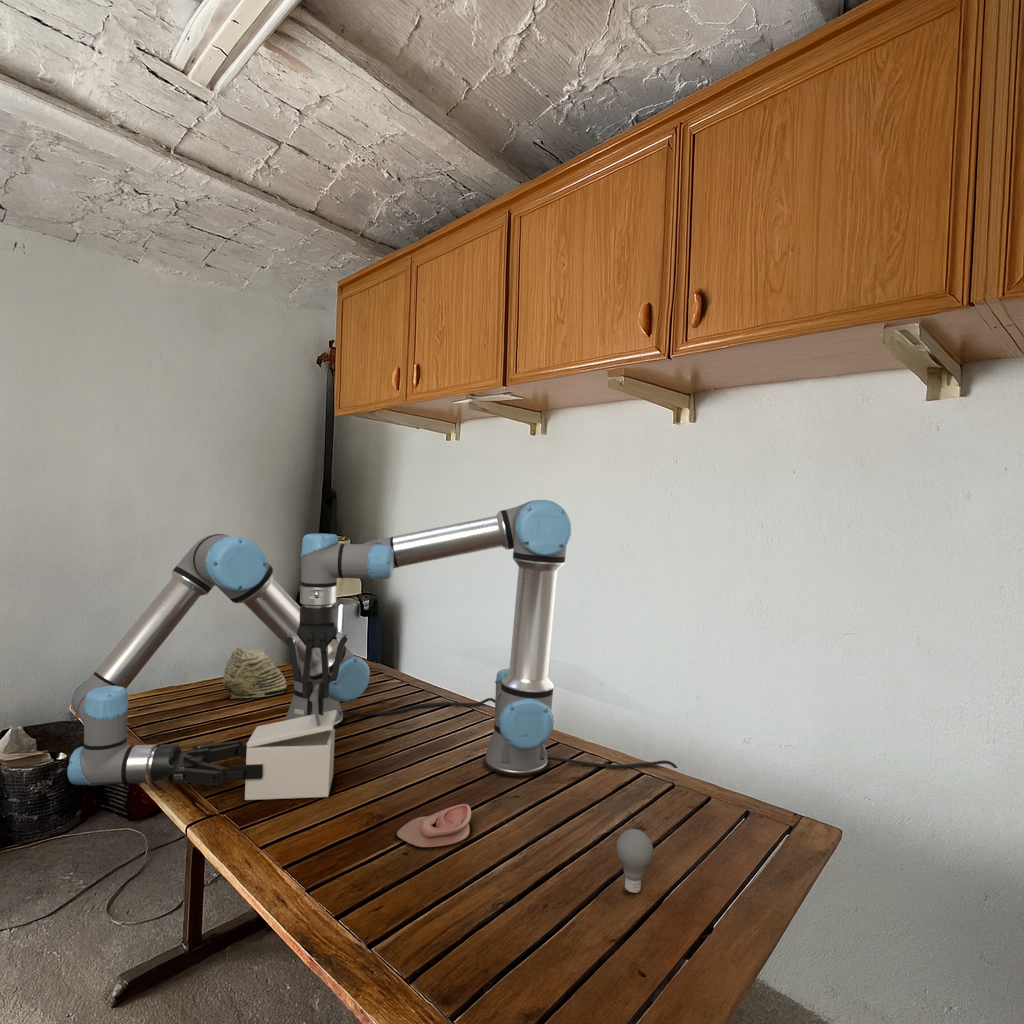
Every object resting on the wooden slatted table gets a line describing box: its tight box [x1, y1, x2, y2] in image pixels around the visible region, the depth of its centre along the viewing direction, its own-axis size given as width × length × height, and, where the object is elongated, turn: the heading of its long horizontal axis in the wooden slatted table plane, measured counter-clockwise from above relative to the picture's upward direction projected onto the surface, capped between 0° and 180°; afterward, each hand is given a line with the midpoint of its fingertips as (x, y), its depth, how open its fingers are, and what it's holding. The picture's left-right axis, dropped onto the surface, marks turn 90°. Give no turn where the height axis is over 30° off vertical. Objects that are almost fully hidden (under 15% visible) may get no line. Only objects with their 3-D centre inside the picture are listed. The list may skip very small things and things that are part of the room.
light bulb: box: [615, 828, 654, 894], centre depth 106 cm, size 6×6×10 cm
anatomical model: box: [396, 803, 472, 848], centre depth 121 cm, size 13×4×12 cm
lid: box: [245, 684, 337, 748], centre depth 137 cm, size 17×10×8 cm, turn 100°
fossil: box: [222, 646, 288, 699], centre depth 198 cm, size 9×18×15 cm, turn 132°
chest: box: [244, 728, 336, 801], centre depth 137 cm, size 17×10×11 cm, turn 100°
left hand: (267, 760), depth 136 cm, fingers closed on chest, 10 cm apart
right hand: (315, 712), depth 138 cm, fingers closed on lid, 2 cm apart
